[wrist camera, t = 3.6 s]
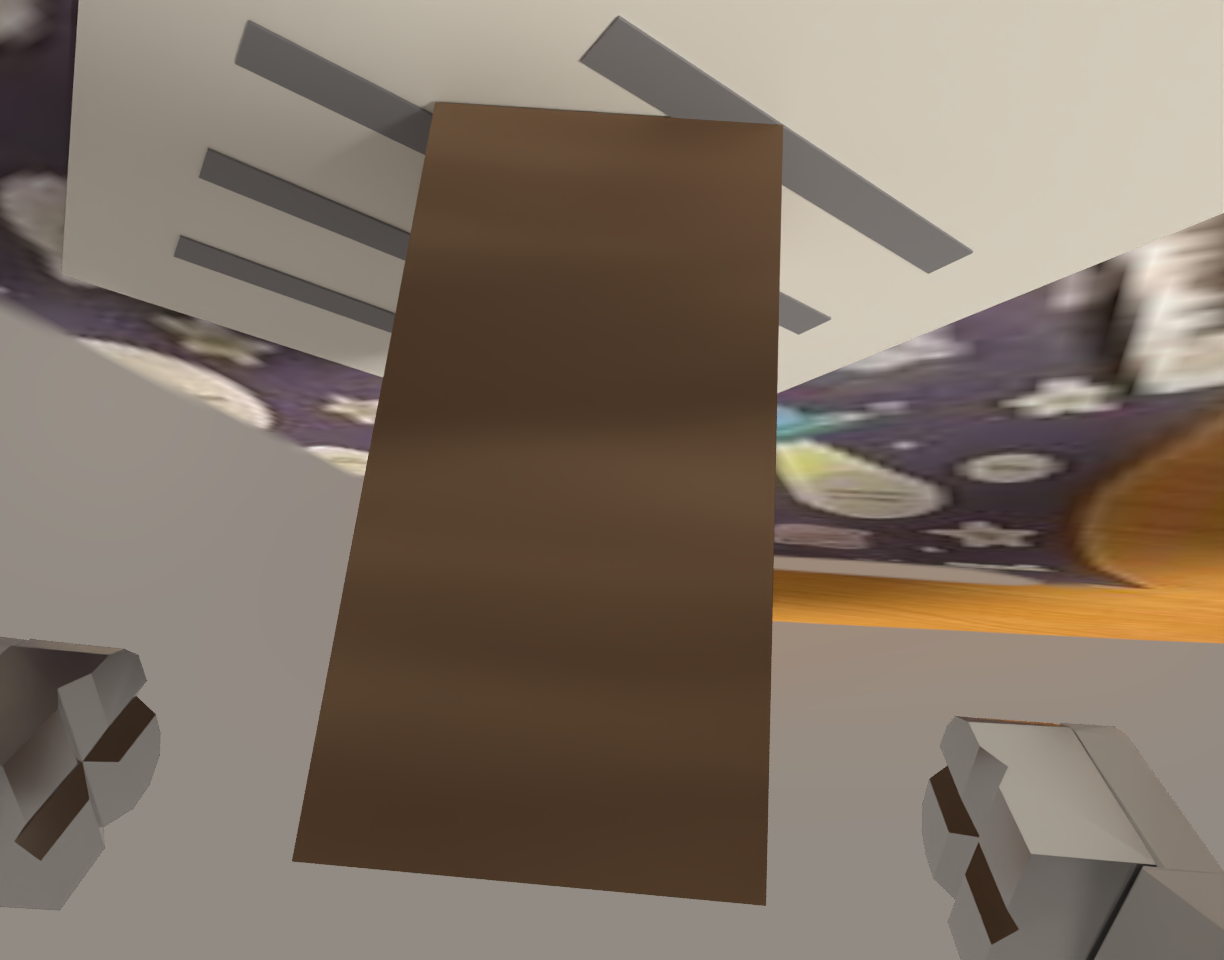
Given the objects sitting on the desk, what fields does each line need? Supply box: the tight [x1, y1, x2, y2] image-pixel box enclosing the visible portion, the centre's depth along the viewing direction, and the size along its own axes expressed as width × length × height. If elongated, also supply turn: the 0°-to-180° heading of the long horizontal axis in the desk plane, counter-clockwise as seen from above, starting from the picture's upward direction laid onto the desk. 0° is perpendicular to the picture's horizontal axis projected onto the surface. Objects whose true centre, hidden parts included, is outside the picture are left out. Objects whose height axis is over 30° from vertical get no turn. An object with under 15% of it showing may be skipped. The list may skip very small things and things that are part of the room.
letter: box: [61, 0, 1224, 393], centre depth 11 cm, size 12×16×1 cm
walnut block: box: [292, 102, 783, 906], centre depth 9 cm, size 3×4×8 cm
